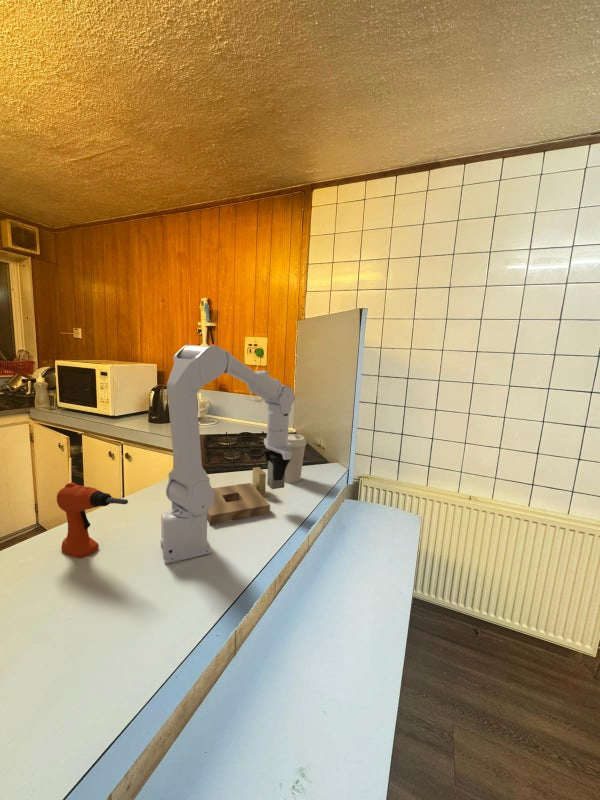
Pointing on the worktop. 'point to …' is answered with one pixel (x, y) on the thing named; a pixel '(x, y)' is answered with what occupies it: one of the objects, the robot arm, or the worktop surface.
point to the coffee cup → (295, 458)
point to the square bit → (271, 480)
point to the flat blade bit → (259, 480)
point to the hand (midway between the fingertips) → (275, 477)
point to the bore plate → (236, 504)
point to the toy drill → (81, 517)
